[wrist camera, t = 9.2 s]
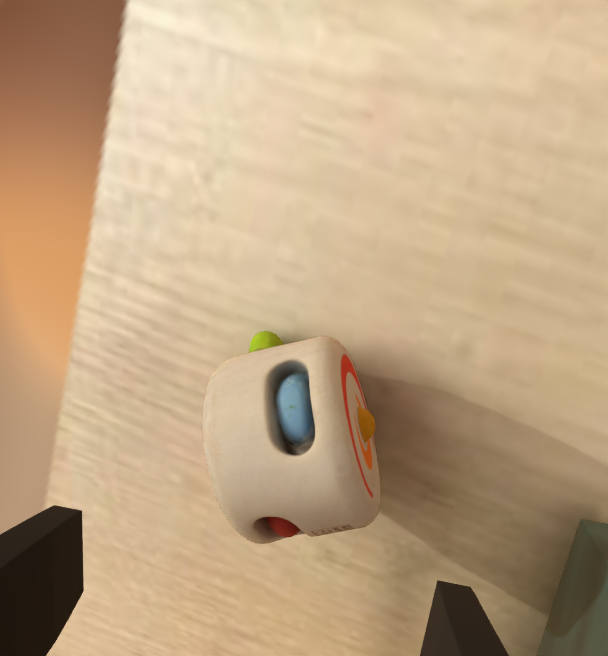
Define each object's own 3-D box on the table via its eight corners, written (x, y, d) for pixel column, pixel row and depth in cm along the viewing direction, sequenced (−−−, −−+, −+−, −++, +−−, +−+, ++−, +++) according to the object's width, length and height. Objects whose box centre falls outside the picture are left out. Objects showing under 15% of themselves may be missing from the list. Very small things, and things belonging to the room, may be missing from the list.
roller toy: (353, 301, 18) (339, 360, 12) (398, 465, 19) (404, 584, 14) (232, 331, 18) (168, 399, 13) (283, 485, 20) (245, 604, 14)
